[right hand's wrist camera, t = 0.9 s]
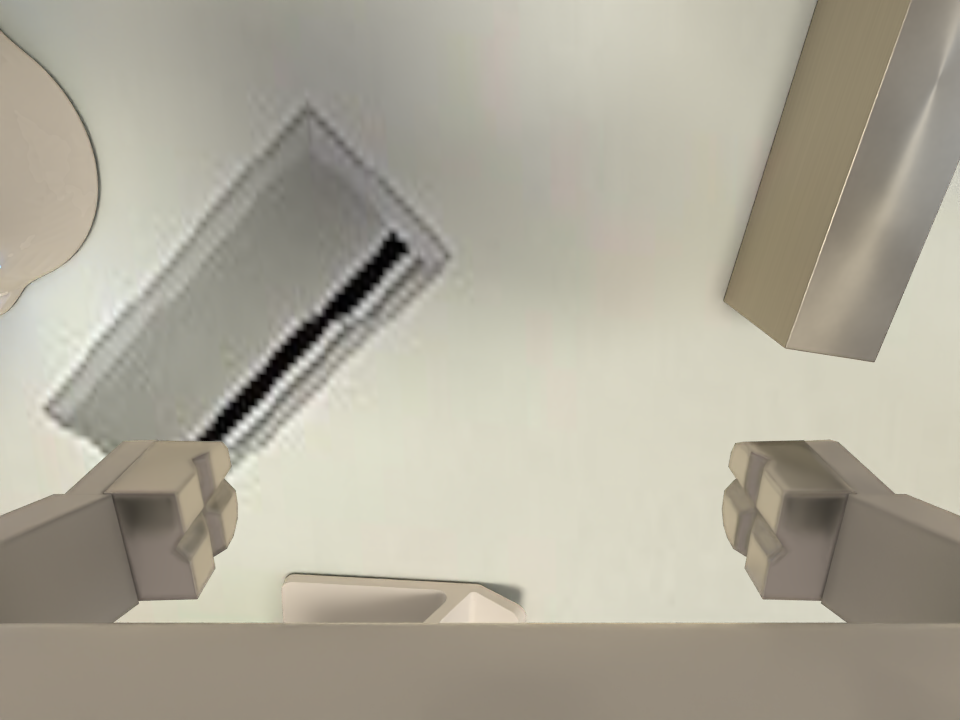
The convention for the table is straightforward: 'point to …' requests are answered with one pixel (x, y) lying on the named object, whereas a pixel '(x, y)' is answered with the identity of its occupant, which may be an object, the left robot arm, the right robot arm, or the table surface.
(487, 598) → the tablet stand
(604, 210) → the table surface
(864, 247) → the bar
